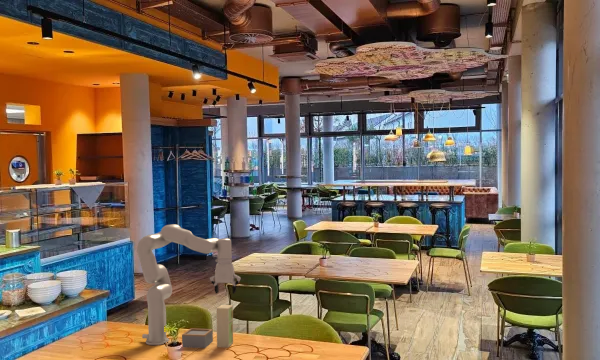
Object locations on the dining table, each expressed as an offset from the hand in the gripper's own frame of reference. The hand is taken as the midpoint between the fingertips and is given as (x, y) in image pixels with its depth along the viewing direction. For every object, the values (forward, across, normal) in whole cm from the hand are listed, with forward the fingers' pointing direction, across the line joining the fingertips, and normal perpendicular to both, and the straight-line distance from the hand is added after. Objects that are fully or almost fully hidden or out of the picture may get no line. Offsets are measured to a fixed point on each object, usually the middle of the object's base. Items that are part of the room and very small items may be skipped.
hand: (225, 293), depth 280 cm
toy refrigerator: (+28, -1, 0) cm, 28 cm away
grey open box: (+28, -17, 0) cm, 33 cm away
